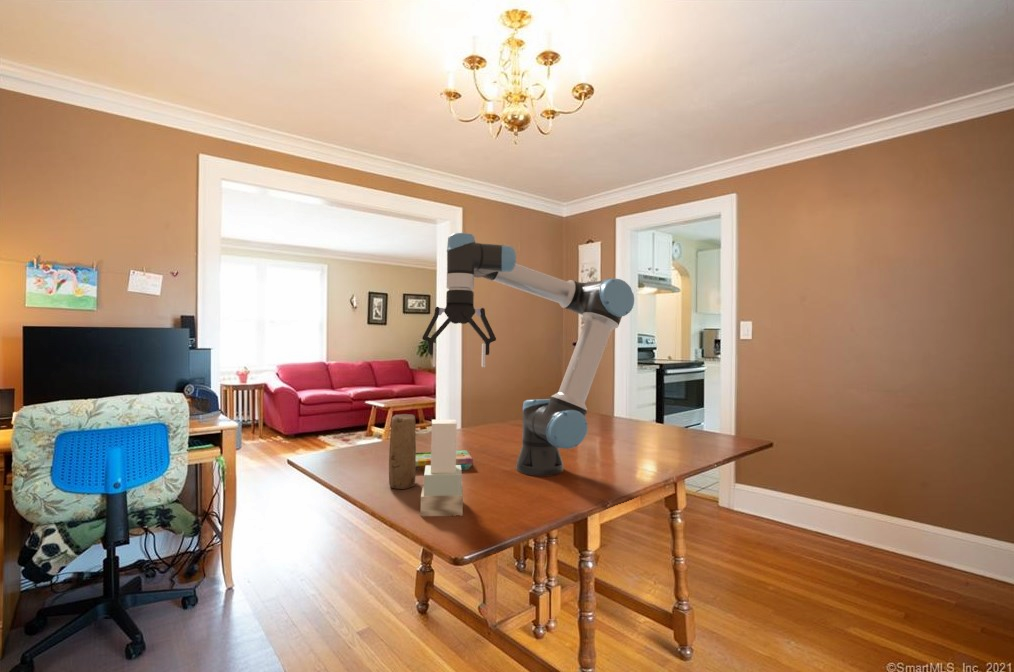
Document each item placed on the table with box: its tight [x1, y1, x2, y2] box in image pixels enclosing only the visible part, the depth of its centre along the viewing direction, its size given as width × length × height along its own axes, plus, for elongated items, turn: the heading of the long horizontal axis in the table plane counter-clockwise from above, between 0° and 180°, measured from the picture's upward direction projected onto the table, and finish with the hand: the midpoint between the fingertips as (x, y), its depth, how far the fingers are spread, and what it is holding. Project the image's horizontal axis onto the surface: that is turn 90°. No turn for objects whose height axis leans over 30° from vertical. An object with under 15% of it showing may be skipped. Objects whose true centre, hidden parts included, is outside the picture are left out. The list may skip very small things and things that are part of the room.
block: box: [388, 413, 417, 490], centre depth 143 cm, size 11×8×20 cm
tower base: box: [419, 483, 464, 517], centre depth 124 cm, size 10×10×5 cm
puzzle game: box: [416, 449, 474, 472], centre depth 163 cm, size 12×5×20 cm
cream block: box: [430, 419, 458, 473], centre depth 124 cm, size 6×6×12 cm
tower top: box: [423, 465, 463, 496], centre depth 124 cm, size 9×9×5 cm
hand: (458, 366), depth 138 cm, fingers open, 13 cm apart
